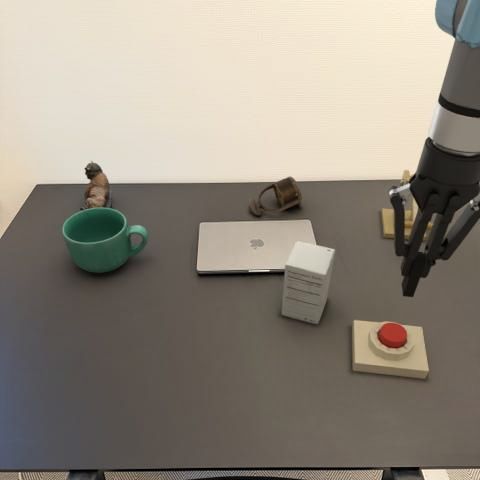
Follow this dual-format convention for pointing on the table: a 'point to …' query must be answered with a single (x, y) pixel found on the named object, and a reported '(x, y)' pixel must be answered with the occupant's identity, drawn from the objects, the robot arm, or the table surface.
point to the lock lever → (414, 211)
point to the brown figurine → (96, 188)
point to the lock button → (392, 335)
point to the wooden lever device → (389, 214)
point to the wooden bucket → (279, 196)
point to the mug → (101, 239)
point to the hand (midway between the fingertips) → (407, 290)
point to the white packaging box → (307, 281)
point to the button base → (388, 351)
